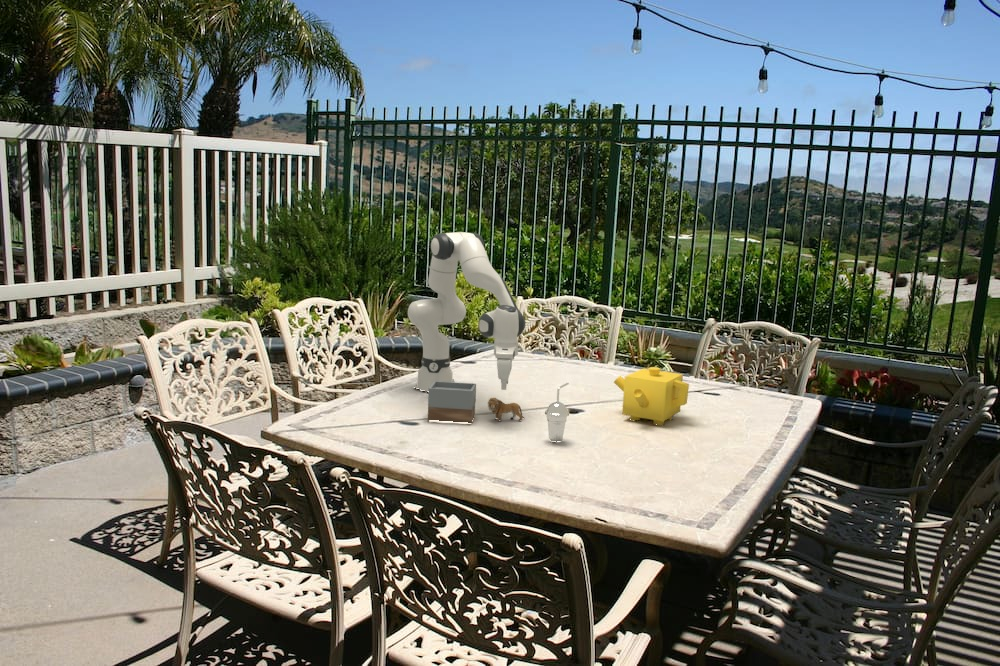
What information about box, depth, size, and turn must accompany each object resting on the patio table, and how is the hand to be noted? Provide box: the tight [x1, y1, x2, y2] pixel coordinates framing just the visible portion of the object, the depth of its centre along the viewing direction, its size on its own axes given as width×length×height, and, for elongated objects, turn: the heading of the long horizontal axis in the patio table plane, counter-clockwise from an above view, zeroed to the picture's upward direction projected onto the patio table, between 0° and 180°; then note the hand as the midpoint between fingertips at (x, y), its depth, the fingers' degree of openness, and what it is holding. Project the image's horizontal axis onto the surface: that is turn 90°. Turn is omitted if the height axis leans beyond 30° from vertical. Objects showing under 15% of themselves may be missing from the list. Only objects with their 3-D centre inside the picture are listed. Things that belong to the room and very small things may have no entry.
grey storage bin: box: [427, 381, 477, 410], centre depth 299 cm, size 12×16×7 cm
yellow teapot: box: [613, 366, 690, 426], centre depth 311 cm, size 35×29×20 cm
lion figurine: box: [487, 397, 525, 421], centre depth 301 cm, size 15×5×9 cm, turn 109°
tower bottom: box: [427, 403, 476, 424], centre depth 300 cm, size 12×16×6 cm
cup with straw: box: [544, 382, 570, 442], centre depth 277 cm, size 8×9×20 cm
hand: (504, 386), depth 299 cm, fingers open, 8 cm apart
